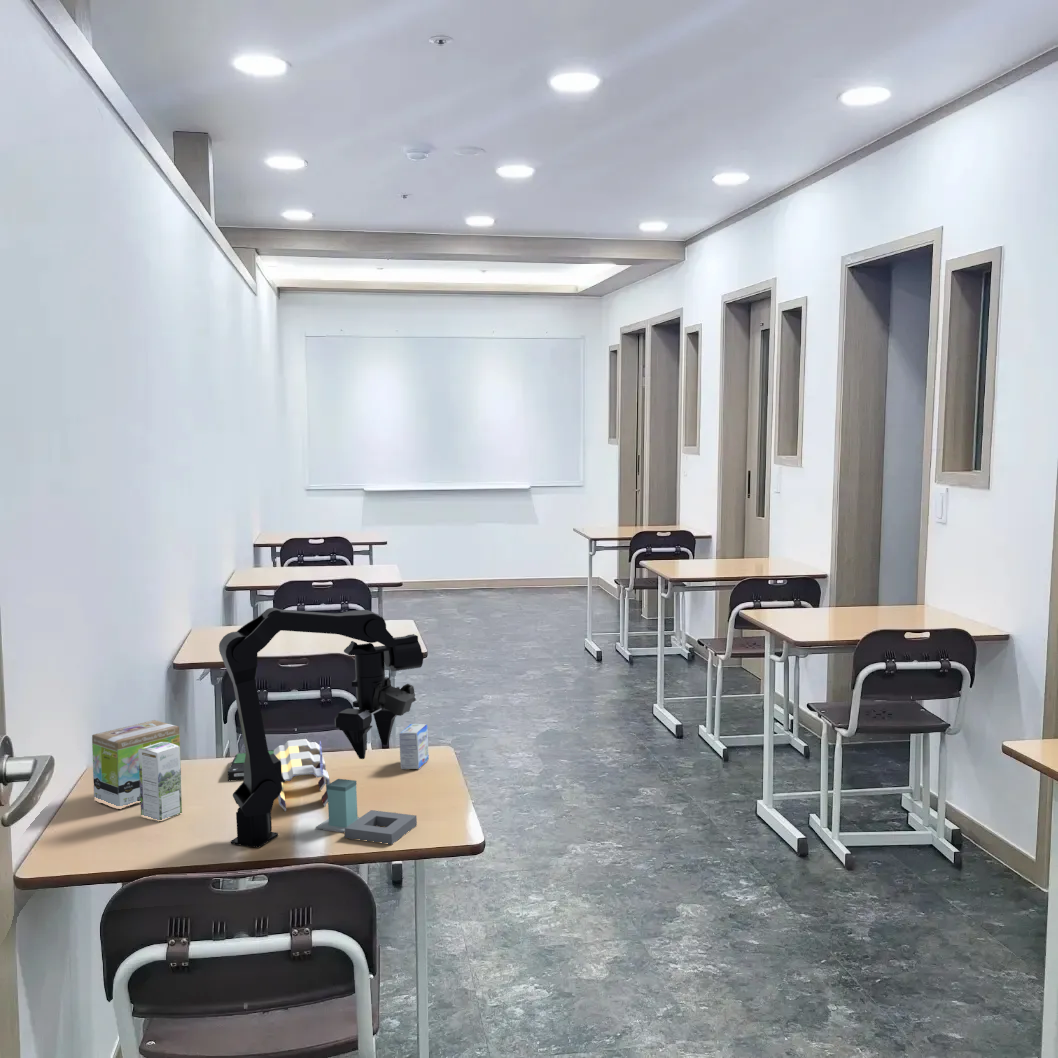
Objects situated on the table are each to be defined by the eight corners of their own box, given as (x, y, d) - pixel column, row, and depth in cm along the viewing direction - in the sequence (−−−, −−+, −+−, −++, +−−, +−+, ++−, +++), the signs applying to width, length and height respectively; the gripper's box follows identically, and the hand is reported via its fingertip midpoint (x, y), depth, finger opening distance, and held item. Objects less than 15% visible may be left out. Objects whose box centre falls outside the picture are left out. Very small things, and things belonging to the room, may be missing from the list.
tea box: (119, 812, 210) (115, 741, 209) (93, 802, 216) (89, 734, 215) (183, 791, 222) (180, 724, 221) (156, 782, 228) (153, 717, 227)
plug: (346, 827, 197) (345, 787, 197) (328, 825, 199) (327, 785, 198) (357, 820, 201) (356, 780, 200) (339, 818, 202) (338, 778, 202)
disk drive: (275, 780, 230) (280, 759, 244) (274, 768, 229) (280, 748, 244) (227, 784, 228) (236, 763, 243) (227, 771, 228) (235, 751, 242)
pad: (347, 833, 196) (347, 831, 196) (315, 828, 198) (315, 826, 198) (365, 820, 202) (365, 818, 202) (335, 816, 205) (335, 814, 205)
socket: (391, 844, 189) (391, 834, 189) (345, 838, 193) (344, 828, 193) (416, 825, 199) (416, 815, 198) (371, 819, 202) (371, 810, 202)
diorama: (330, 807, 211) (328, 745, 210) (279, 813, 208) (276, 750, 207) (321, 770, 235) (318, 714, 234) (275, 775, 232) (272, 719, 231)
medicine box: (418, 770, 232) (417, 733, 232) (400, 769, 233) (398, 732, 233) (429, 759, 240) (427, 723, 239) (410, 759, 241) (409, 723, 240)
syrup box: (163, 809, 211) (160, 740, 210) (183, 814, 208) (179, 744, 207) (140, 818, 206) (136, 747, 205) (160, 823, 203) (156, 751, 202)
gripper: (383, 688, 190) (386, 770, 191) (428, 666, 207) (431, 741, 209) (331, 684, 194) (335, 765, 195) (379, 663, 211) (383, 737, 213)
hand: (373, 751), depth 203 cm, fingers open, 9 cm apart
